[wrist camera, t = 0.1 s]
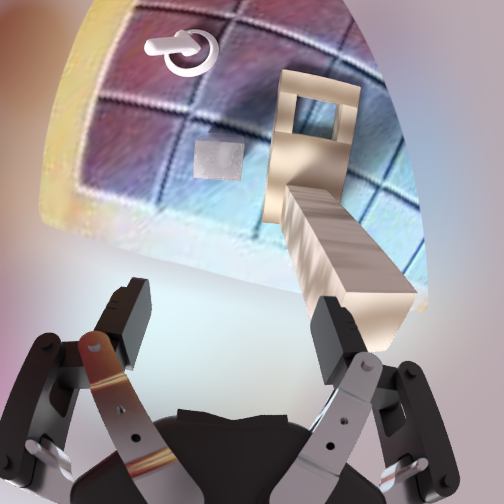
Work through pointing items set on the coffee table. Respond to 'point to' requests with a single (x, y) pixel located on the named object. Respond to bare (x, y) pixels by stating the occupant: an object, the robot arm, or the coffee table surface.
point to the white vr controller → (183, 50)
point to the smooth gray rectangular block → (219, 156)
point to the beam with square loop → (329, 214)
